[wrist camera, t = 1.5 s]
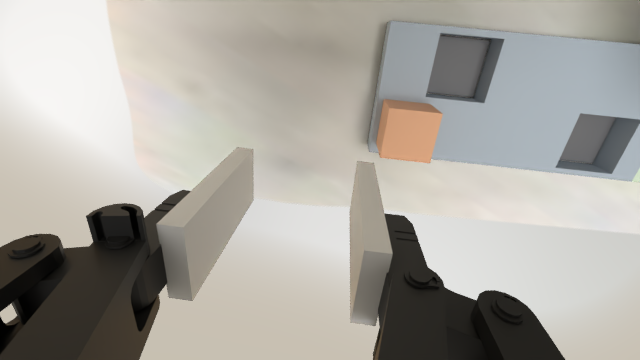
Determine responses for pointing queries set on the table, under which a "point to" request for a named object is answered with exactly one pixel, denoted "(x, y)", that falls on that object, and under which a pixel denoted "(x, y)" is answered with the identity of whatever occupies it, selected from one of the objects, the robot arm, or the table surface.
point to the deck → (519, 98)
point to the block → (408, 130)
